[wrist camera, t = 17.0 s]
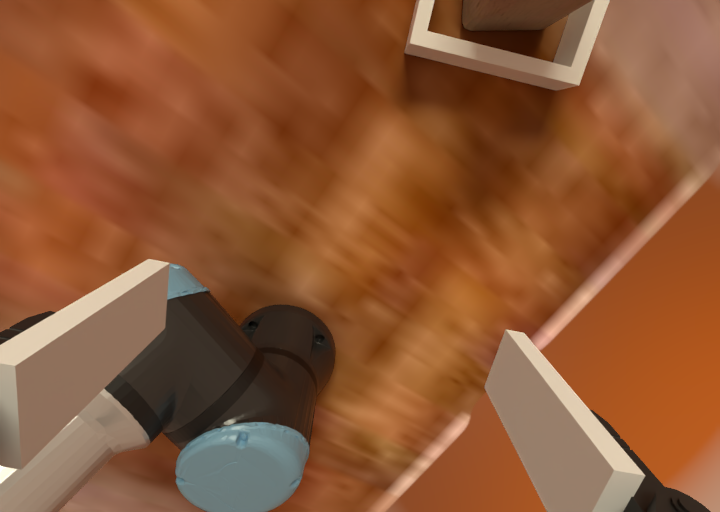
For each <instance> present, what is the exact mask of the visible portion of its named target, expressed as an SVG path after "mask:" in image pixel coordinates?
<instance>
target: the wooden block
mask: <svg viewBox="0 0 720 512" xmlns="http://www.w3.org/2000/svg"><path fill="white" fill-rule="evenodd" d="M591 1H592V0H463V12H462V23H463V26H464V28H465V29H468V30H470V31H492V30H541V29H544V28H546V27H548V26H550V25H551V24H553V23H555V22H556V21H558V20H560V19H562V18H563V17H565V16H567V15H568V14H570V13H572V12H573V11H575V10H577V9H579V8H580V7H582V6H584V5H585V4H587V3H589V2H591Z"/></svg>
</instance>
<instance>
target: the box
mask: <svg viewBox="0 0 720 512" xmlns="http://www.w3.org/2000/svg"><path fill="white" fill-rule="evenodd" d="M609 1H610V0H592V1H591V2H589V3H587V4H585V5H584V6H582V7H580V8H579V9H577V10H575V11H573V12H572V13H570V14H569V16H568V19H567V22H566V25H565V28H564V31H563V34H562V37H561V40H560V43H559V46H558V49H557V52H556V55H555V58H554V61H553V63H552V62H548V61H544V60H541V59H537V58H533V57H529V56H525V55H521V54H517V53H513V52H509V51H505V50H501V49H497V48H493V47H489V46H485V45H481V44H477V43H473V42H469V41H465V40H461V39H457V38H453V37H449V36H446V35H442V34H438V33H434V32H430V31H427V29H428V25H429V21H430V17H431V13H432V9H433V5H434V0H416V4H415V8H414V13H413V17H412V22H411V26H410V30H409V35H408V39H407V43H406V48H405V52H404V53H406V54H410V55H414V56H418V57H422V58H426V59H430V60H434V61H438V62H442V63H446V64H450V65H454V66H458V67H462V68H466V69H470V70H474V71H478V72H482V73H487V74H491V75H495V76H499V77H503V78H507V79H511V80H515V81H519V82H523V83H527V84H531V85H535V86H539V87H543V88H547V89H551V90H555V91H557V90H561V89H566V88H570V87H574V86H578V85H579V84H580V81H581V78H582V75H583V73H584V70H585V67H586V64H587V62H588V59H589V56H590V53H591V51H592V48H593V45H594V42H595V40H596V37H597V34H598V31H599V29H600V26H601V23H602V20H603V17H604V15H605V12H606V9H607V6H608V4H609Z"/></svg>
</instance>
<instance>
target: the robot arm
mask: <svg viewBox="0 0 720 512" xmlns="http://www.w3.org/2000/svg"><path fill="white" fill-rule="evenodd" d="M334 361H335V344H334V340H333V337H332V335H331V333H330V331H329V329H328V328H327V327H326V325H325V324H324V323H323V322H322V321H321V320H320V319H319V318H318V317H316V316H315V315H314V314H312V313H310V312H309V311H307V310H304V309H302V308H299V307H295V306H290V305H273V306H268V307H264V308H262V309H259V310H257V311H255V312H254V313H252V314H251V315H249V316H248V317H247V318H246V319H245V320H244V321H243V322H242V324H241V325H240V326H238V324H237V323H236V322H235V321H234V320H233V319H232V318H231V316H230V315H229V314H228V313H227V312H226V311H225V309H224V308H223V307H222V306H221V305H220V304H219V303H218V301H217V300H216V299H215V298H214V297H213V296H212V295H211V293H210V290H209V289H208V288H206V287H204V286H203V285H202V284H201V283H200V282H199V281H198V280H197V279H196V278H195V277H194V276H193V275H192V274H191V273H190V272H189V271H188V270H187V269H186V268H184V267H183V266H181V265H178V264H170V263H167V262H162V261H157V260H152V259H148V260H146V261H144V262H143V263H141V264H139V265H137V266H136V267H134V268H132V269H131V270H129V271H127V272H125V273H124V274H122V275H120V276H119V277H117V278H115V279H113V280H112V281H110V282H108V283H106V284H105V285H103V286H101V287H100V288H98V289H96V290H94V291H93V292H91V293H89V294H87V295H86V296H84V297H82V298H81V299H79V300H77V301H75V302H74V303H72V304H70V305H68V306H67V307H65V308H63V309H62V310H60V311H58V312H52V311H48V312H45V313H42V314H38V315H35V316H32V317H28V318H26V319H24V320H22V321H21V322H19V323H17V324H15V325H13V326H11V327H10V329H9V330H8V329H6V330H4V331H2V332H0V512H59V510H60V509H61V508H62V507H63V506H64V505H65V504H66V503H67V502H68V501H69V500H70V499H71V498H72V497H73V496H74V495H75V494H76V493H77V492H78V491H79V490H80V489H81V488H82V487H83V486H84V485H85V484H86V483H87V482H88V481H89V480H90V479H91V478H92V477H93V476H94V475H95V474H96V473H97V472H98V471H99V470H100V469H101V468H102V467H103V466H104V465H105V464H106V463H107V462H108V461H109V460H110V459H111V458H112V457H113V456H114V455H115V454H118V453H120V452H124V451H129V450H135V449H141V448H146V447H147V446H148V445H149V444H150V443H151V442H152V441H153V440H154V439H155V438H156V437H157V436H158V435H159V434H160V433H161V432H162V433H163V434H164V435H166V436H167V437H168V438H169V439H170V440H171V441H172V442H173V443H174V444H175V445H176V446H177V447H178V448H179V449H180V450H181V452H180V455H179V456H178V459H177V461H176V470H175V473H176V476H177V478H176V484H177V486H178V489H179V490H180V492H181V493H182V495H183V496H184V497H185V498H186V499H187V500H188V501H189V502H191V503H192V504H193V505H195V506H196V507H198V508H200V509H202V510H204V511H206V512H268V511H270V510H272V509H274V508H276V507H278V506H280V505H281V504H283V503H284V502H285V501H286V500H287V499H289V498H290V497H291V495H292V494H293V493H294V492H295V490H296V489H297V487H298V486H299V484H300V481H301V478H302V475H303V471H304V467H305V463H306V461H307V459H308V455H309V447H310V439H311V432H312V425H313V418H314V411H315V404H316V397H317V395H318V394H319V393H320V391H321V390H322V389H323V387H324V386H325V385H326V383H327V382H328V380H329V378H330V376H331V374H332V371H333V367H334ZM484 388H485V390H486V392H487V394H488V396H489V398H490V400H491V402H492V404H493V406H494V408H495V410H496V411H497V414H498V416H499V418H500V420H501V421H502V424H503V425H504V427H505V429H506V431H507V433H508V435H509V437H510V439H511V441H512V443H513V445H514V447H515V449H516V451H517V453H518V455H519V457H520V459H521V461H522V463H523V465H524V467H525V469H526V471H527V473H528V475H529V477H530V479H531V481H532V483H533V485H534V487H535V489H536V491H537V493H538V495H539V497H540V499H541V501H542V503H543V505H544V507H545V509H546V510H547V512H710V511H709V510H708V509H707V508H706V507H705V506H703V505H702V504H701V503H699V502H698V501H696V500H694V499H693V498H692V497H690V496H688V495H686V494H684V493H682V492H680V491H678V490H675V489H671V488H667V487H664V486H663V485H662V484H661V482H660V481H659V480H658V479H657V478H656V477H655V476H654V474H653V473H652V472H651V471H650V470H649V469H648V468H647V466H646V465H645V464H644V463H643V462H642V461H641V460H640V458H639V457H638V456H637V455H636V454H635V453H634V452H633V450H630V447H629V446H628V445H627V444H626V442H625V441H624V440H623V439H620V436H619V435H618V433H617V432H616V431H615V430H614V429H613V428H612V427H611V425H610V424H609V423H608V422H607V421H605V420H604V419H603V418H601V417H600V416H599V415H598V414H596V413H595V412H594V411H592V410H589V409H588V408H587V406H586V405H585V404H584V403H583V402H582V401H581V399H580V398H579V397H578V396H577V395H576V393H575V392H574V391H573V390H572V389H571V388H570V387H569V385H568V384H567V383H566V382H565V381H564V380H563V378H562V377H561V376H560V375H559V373H558V372H557V371H556V370H555V369H554V368H553V366H552V365H551V364H550V363H549V362H548V361H547V359H546V358H545V357H544V356H543V355H542V353H541V352H540V351H539V350H538V349H537V348H536V346H535V345H534V344H533V343H532V342H531V341H530V339H529V338H528V337H527V336H526V335H525V333H522V332H517V331H512V330H507V329H506V330H505V333H504V335H503V338H502V341H501V343H500V346H499V349H498V351H497V354H496V357H495V360H494V362H493V365H492V368H491V370H490V373H489V376H488V379H487V381H486V384H485V387H484Z"/></svg>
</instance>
